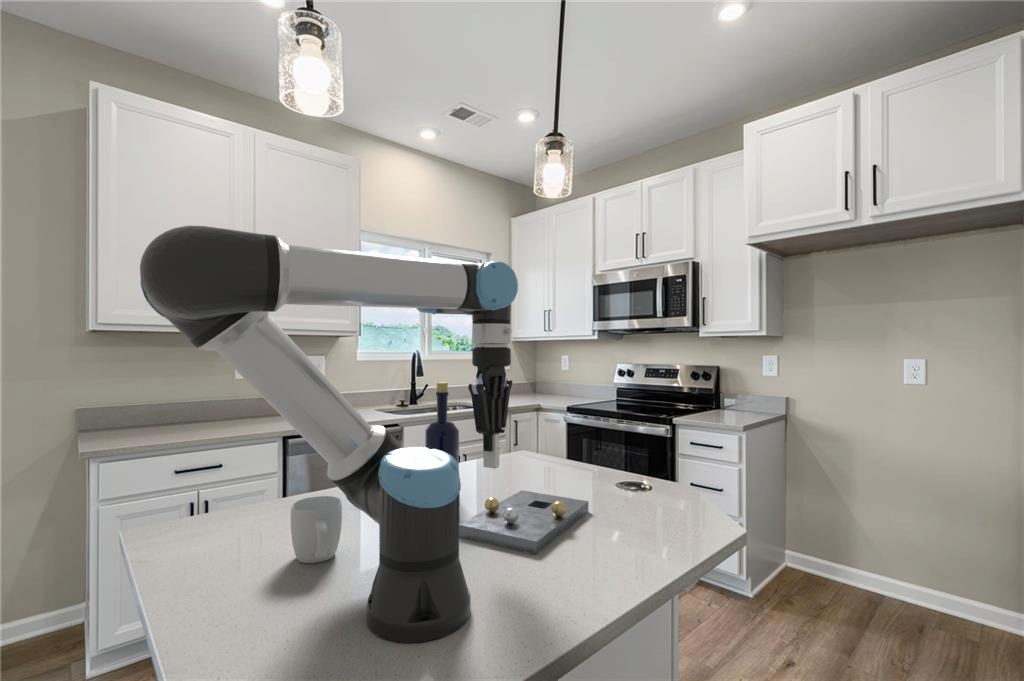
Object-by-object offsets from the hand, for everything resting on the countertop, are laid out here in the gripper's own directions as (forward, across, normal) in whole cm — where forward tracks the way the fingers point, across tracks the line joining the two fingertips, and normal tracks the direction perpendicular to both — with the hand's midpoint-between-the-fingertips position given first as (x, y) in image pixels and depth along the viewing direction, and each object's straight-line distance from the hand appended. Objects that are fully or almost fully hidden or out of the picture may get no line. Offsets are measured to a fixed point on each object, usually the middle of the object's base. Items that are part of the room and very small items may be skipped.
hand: (491, 466), depth 97 cm
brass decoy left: (+12, +12, +7) cm, 18 cm away
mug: (+16, -20, +25) cm, 36 cm away
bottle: (+16, +20, +27) cm, 37 cm away
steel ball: (+12, +8, 0) cm, 14 cm away
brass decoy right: (+12, +17, -7) cm, 22 cm away
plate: (+16, +16, 0) cm, 23 cm away
